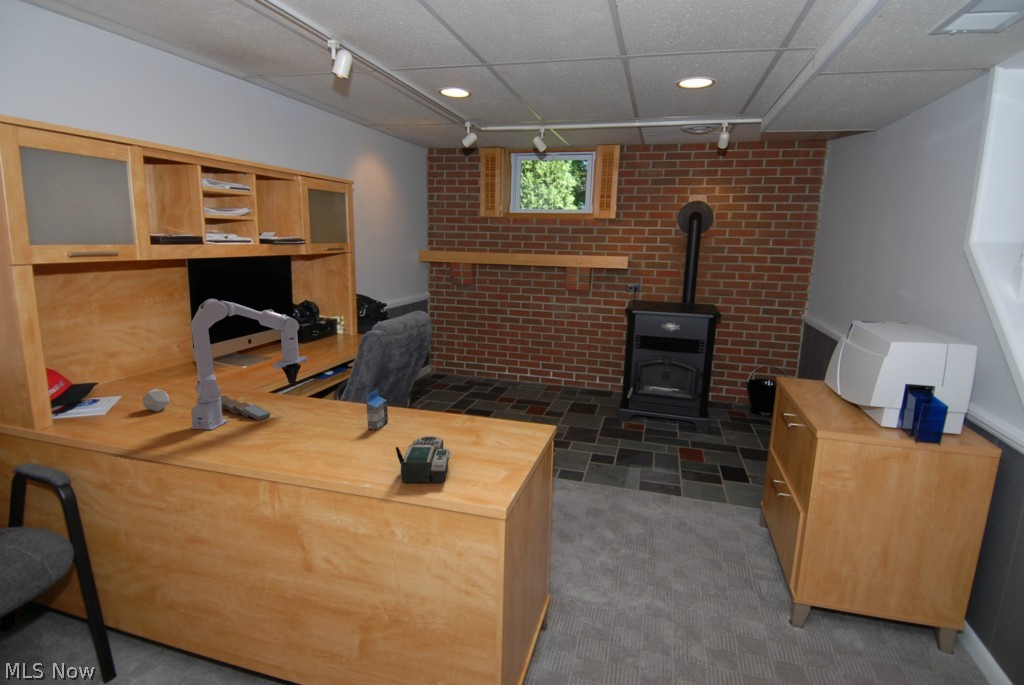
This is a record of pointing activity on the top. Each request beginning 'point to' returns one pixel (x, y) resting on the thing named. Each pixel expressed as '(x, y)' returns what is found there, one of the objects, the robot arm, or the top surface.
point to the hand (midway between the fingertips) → (292, 383)
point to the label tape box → (376, 411)
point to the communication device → (424, 460)
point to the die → (156, 400)
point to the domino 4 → (256, 412)
